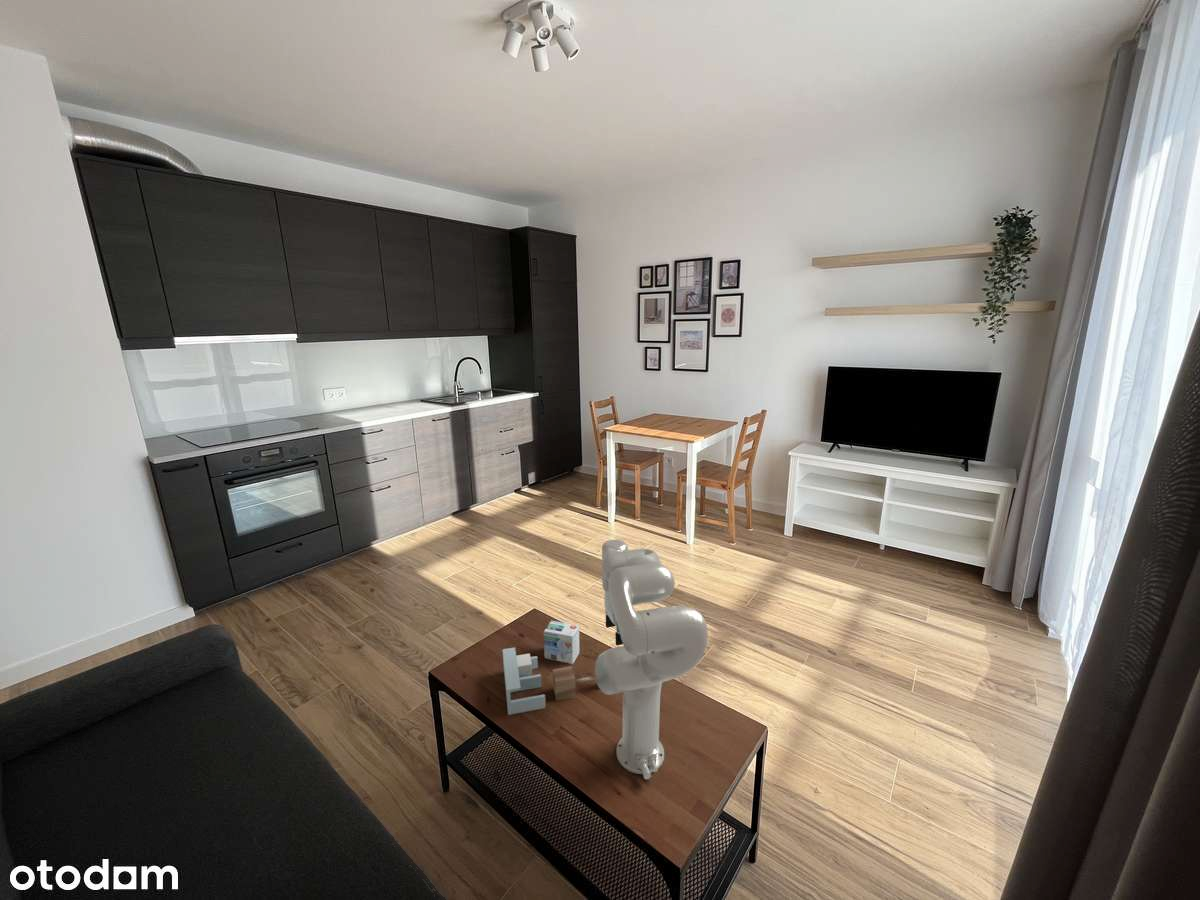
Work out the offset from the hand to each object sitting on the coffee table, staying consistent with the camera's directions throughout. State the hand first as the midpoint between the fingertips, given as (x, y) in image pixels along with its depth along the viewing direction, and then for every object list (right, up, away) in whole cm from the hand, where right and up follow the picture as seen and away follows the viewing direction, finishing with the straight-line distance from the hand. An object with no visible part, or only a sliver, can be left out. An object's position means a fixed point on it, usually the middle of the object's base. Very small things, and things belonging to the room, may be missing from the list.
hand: (615, 635), depth 149 cm
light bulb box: (-18, -16, +22) cm, 32 cm away
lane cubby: (-28, -19, +7) cm, 35 cm away
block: (-30, -18, +11) cm, 37 cm away
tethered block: (-11, -19, +6) cm, 23 cm away
